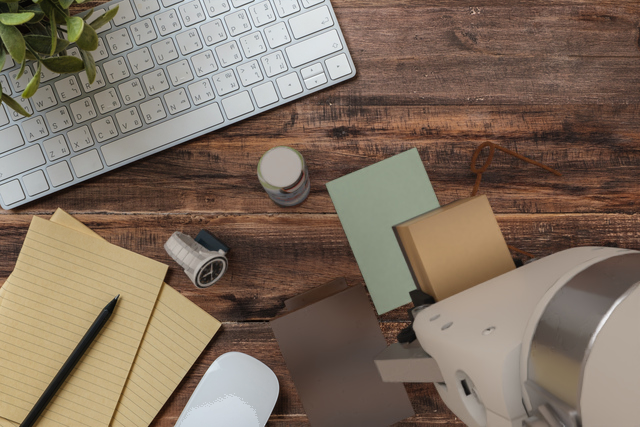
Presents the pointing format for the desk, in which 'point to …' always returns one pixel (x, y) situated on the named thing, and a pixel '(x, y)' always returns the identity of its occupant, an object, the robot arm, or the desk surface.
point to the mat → (383, 221)
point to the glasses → (484, 167)
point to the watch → (199, 256)
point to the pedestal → (338, 358)
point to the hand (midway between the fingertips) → (461, 295)
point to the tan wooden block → (454, 247)
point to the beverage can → (284, 176)
